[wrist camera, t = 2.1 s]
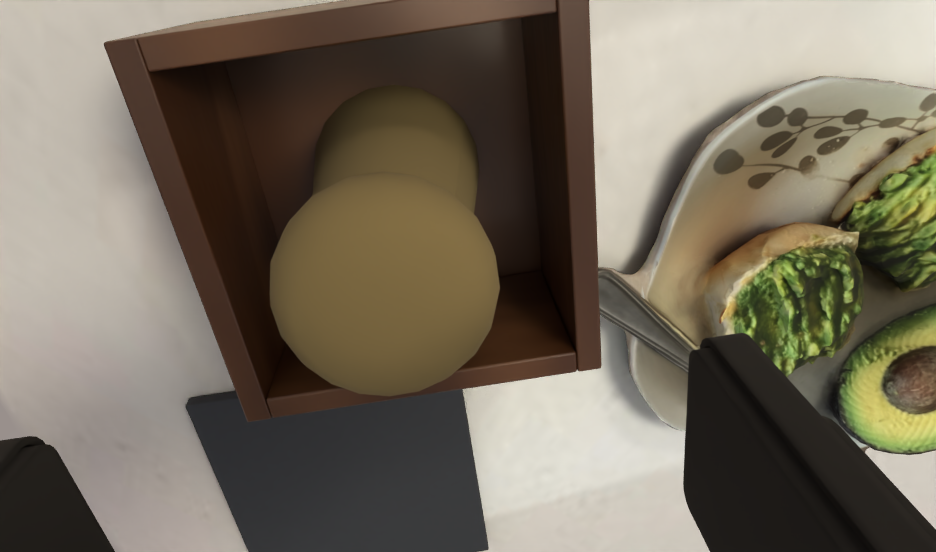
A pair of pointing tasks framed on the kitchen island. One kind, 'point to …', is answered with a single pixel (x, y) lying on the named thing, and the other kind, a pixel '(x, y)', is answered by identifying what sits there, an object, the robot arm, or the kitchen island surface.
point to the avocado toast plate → (802, 258)
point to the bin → (293, 158)
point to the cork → (387, 248)
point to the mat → (348, 475)
